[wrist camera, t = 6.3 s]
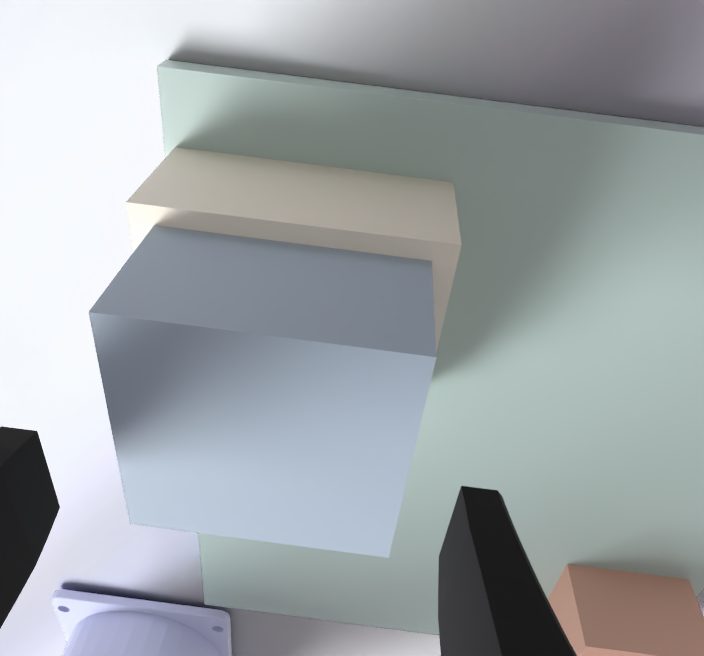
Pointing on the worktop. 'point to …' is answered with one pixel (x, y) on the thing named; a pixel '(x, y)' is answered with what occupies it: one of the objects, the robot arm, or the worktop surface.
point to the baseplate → (503, 333)
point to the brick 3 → (627, 613)
